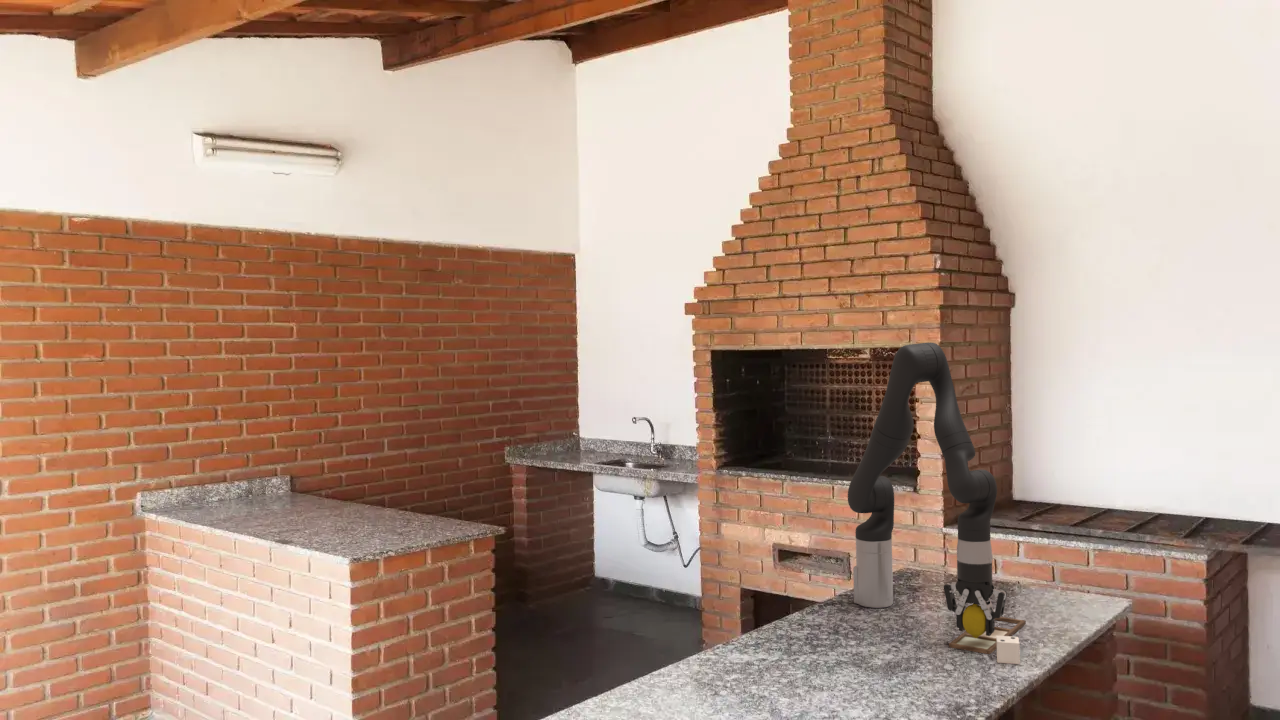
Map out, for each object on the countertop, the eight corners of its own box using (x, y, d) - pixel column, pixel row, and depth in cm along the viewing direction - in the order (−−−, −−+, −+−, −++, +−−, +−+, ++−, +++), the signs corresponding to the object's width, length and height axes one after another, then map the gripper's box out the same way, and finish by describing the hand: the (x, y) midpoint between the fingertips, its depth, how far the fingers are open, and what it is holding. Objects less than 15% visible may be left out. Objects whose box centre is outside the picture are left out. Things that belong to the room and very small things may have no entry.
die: (997, 662, 213) (997, 641, 213) (996, 655, 217) (996, 635, 217) (1019, 664, 211) (1019, 643, 211) (1018, 657, 216) (1018, 636, 216)
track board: (948, 647, 224) (948, 643, 224) (987, 617, 244) (987, 614, 244) (989, 654, 218) (989, 650, 218) (1025, 623, 239) (1025, 620, 239)
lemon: (985, 634, 227) (984, 599, 227) (991, 642, 222) (990, 606, 221) (960, 634, 228) (959, 599, 227) (965, 642, 222) (965, 606, 222)
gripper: (937, 558, 225) (938, 631, 226) (1001, 566, 217) (1002, 642, 217) (949, 551, 231) (950, 623, 232) (1012, 559, 222) (1013, 633, 223)
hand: (975, 632), depth 225 cm, fingers closed on lemon, 5 cm apart
